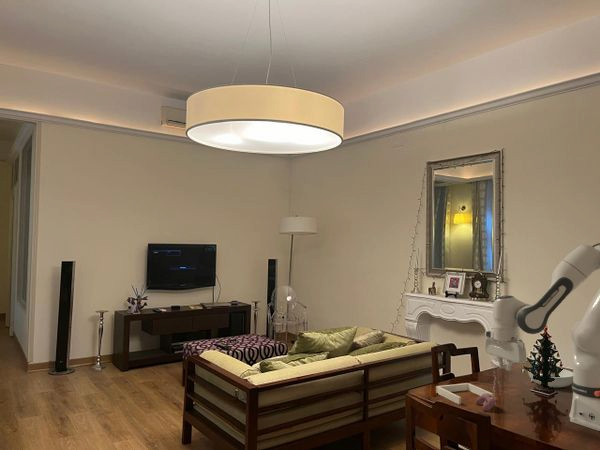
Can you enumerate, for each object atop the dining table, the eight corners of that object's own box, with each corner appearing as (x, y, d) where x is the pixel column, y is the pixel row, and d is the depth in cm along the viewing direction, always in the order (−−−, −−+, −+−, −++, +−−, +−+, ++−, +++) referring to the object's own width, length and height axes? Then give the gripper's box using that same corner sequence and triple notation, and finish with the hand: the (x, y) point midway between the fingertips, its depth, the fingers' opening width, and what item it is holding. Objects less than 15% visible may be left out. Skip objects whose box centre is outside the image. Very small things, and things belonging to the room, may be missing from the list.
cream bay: (493, 400, 214) (493, 393, 214) (458, 404, 208) (458, 397, 208) (468, 389, 230) (468, 382, 230) (435, 392, 224) (435, 386, 224)
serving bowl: (533, 377, 253) (533, 364, 253) (578, 384, 240) (578, 370, 240) (523, 385, 237) (523, 371, 237) (570, 394, 223) (570, 379, 224)
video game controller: (491, 415, 199) (499, 400, 199) (482, 410, 199) (489, 395, 199) (483, 407, 209) (490, 393, 209) (473, 402, 209) (480, 388, 209)
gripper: (530, 339, 186) (530, 375, 186) (493, 330, 206) (494, 362, 205) (517, 340, 184) (517, 376, 184) (481, 331, 204) (482, 363, 203)
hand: (505, 369), depth 195 cm, fingers closed
